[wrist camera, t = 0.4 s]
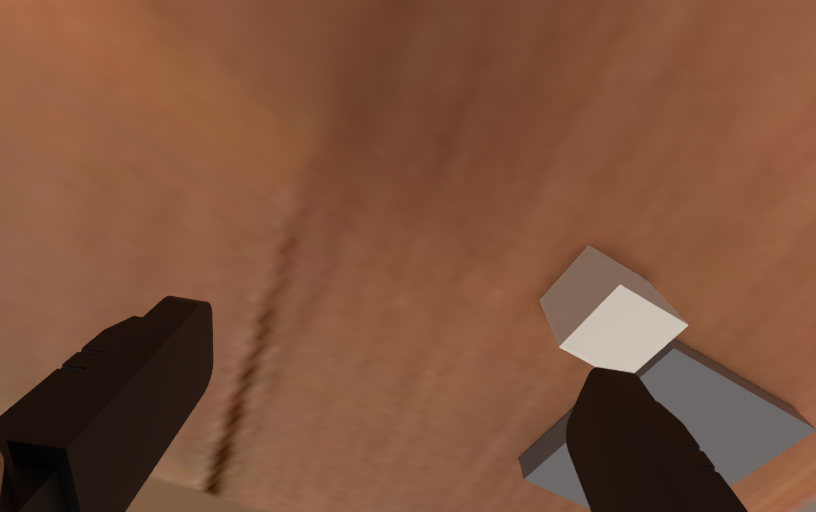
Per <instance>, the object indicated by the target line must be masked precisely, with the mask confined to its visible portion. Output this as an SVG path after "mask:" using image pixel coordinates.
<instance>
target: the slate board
mask: <svg viewBox="0 0 816 512" xmlns="http://www.w3.org/2000/svg"><path fill="white" fill-rule="evenodd" d="M634 374H636V375H637V376H638V377H639V378H640V379H641V381H642V382H643V384H644V385H645V386H646V388H647V389H648V391H649V392H650V394H651V395H652V396H653V398H654V399H655V401H657V402H660V403H661V404H662V405H663V406H664V407H665V408H666V409H667V410H669V411H670V412H671V413H672V414H673V415H674V416H675V417H677V418H678V419H679V420H680V421H681V422H682V423H683V424H684V425H685V427H686V428H687V429H688V431H689V432H690V433H691V435H692V436H693V438H694V439H695V440H696V442H697V443H698V444H699V446H700V451H704V453H705V454H706V455H707V457H708V458H709V459H710V461H711V462H712V463H713V465H714V466H715V472H719V473H720V474H721V476H722V477H723V478H724V480H725V481H726V483H727V484H728V485H729V487H730V486H731V485H733V484H734V483H736V482H737V481H739V480H740V479H742V478H743V477H745V476H746V475H748V474H750V473H751V472H753V471H754V470H756V469H757V468H759V467H760V466H762V465H763V464H765V463H766V462H768V461H770V460H771V459H773V458H774V457H776V456H777V455H779V454H780V453H782V452H783V451H785V450H786V449H788V448H789V447H791V446H793V445H794V444H796V443H797V442H799V441H800V440H802V439H803V438H805V437H806V436H808V435H809V434H811V433H813V432H814V431H816V429H815V428H814V427H813V426H812V425H811V424H810V423H809V422H808V421H807V420H806V419H805V418H804V417H803V416H802V415H801V414H800V413H799V412H798V411H797V410H796V409H795V408H793V407H792V406H790V405H788V404H787V403H785V402H783V401H781V400H780V399H778V398H776V397H774V396H773V395H771V394H769V393H768V392H766V391H764V390H762V389H761V388H759V387H757V386H755V385H754V384H752V383H750V382H749V381H747V380H745V379H743V378H742V377H740V376H738V375H736V374H735V373H733V372H731V371H730V370H728V369H726V368H724V367H723V366H721V365H719V364H717V363H716V362H714V361H712V360H711V359H709V358H707V357H705V356H704V355H702V354H700V353H698V352H697V351H695V350H693V349H691V348H690V347H688V346H686V345H685V344H683V343H681V342H679V341H678V340H676V339H672V340H671V341H670V342H669V343H668V344H667V345H666V346H665V347H663V348H662V349H661V350H660V351H659V352H658V353H657V354H655V355H654V356H653V357H652V358H651V359H650V360H649V361H648V362H646V363H645V364H644V365H643V366H642V367H641V368H640V369H639V370H637V371H636V372H635V373H634ZM572 410H573V409H572ZM572 410H571V411H570V412H568V413H567V414H566V415H565V416H564V417H563V418H562V419H561V420H560V421H559V422H558V423H556V424H555V425H554V426H553V427H552V428H551V429H550V430H549V431H548V432H547V433H546V434H544V435H543V436H542V437H541V438H540V439H539V440H538V441H537V442H536V443H535V444H534V445H532V446H531V447H530V448H529V449H528V450H527V451H526V452H525V453H524V454H523V455H522V456H520V457H519V460H520V465H521V469H522V474H523V478H524V480H526V481H528V482H531V483H533V484H535V485H537V486H540V487H542V488H544V489H546V490H548V491H551V492H553V493H555V494H557V495H560V496H562V497H564V498H566V499H569V500H571V501H573V502H575V503H578V504H580V505H582V506H584V507H587V508H589V509H590V507H589V504H588V502H587V499H586V497H585V494H584V491H583V489H582V486H581V484H580V481H579V478H578V476H577V473H576V470H575V468H574V465H573V463H572V460H571V457H570V455H569V452H568V449H567V444H566V427H567V422H568V419H569V417H570V414H571V412H572Z"/></svg>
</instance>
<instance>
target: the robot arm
mask: <svg viewBox="0 0 816 512" xmlns="http://www.w3.org/2000/svg"><path fill="white" fill-rule="evenodd" d="M212 370H213V325H212V308H211V305H210V303H208V302H205V301H199V300H193V299H187V298H180V297H174V296H167V297H165V298H164V299H162V300H161V301H160V302H159V303H158V304H157V305H156V306H155V307H154V308H152V309H151V310H150V311H149V312H148V313H147V314H146V315H145V316H144V317H137V316H133V317H131V318H128V319H126V320H124V321H122V322H120V323H118V324H115V325H113V326H111V327H109V328H107V329H105V330H103V331H102V332H101V333H100V334H99V335H97V336H96V337H95V338H94V339H92V340H91V341H90V342H89V343H88V344H86V345H85V346H84V347H83V348H82V351H81V352H77V353H76V354H74V355H73V356H72V357H71V358H70V359H68V360H67V361H66V362H65V363H64V364H62V368H61V369H56V370H55V371H54V372H53V373H51V374H50V375H49V376H48V377H47V378H45V379H44V380H43V381H42V382H41V383H39V384H38V385H37V386H36V387H35V388H33V389H32V390H31V391H30V392H29V393H27V394H26V395H25V396H24V397H23V398H21V399H20V400H19V401H18V402H16V403H15V404H14V405H13V406H12V407H10V408H9V409H8V410H7V411H6V412H4V413H3V414H2V415H1V416H0V512H125V511H126V510H127V508H128V507H129V505H130V504H131V502H132V501H133V499H134V498H135V496H136V495H137V493H138V492H139V490H140V489H141V487H142V486H143V484H144V483H145V481H146V480H147V478H148V477H149V475H150V474H151V472H152V471H153V469H154V468H155V466H156V465H157V463H158V462H159V460H160V459H161V457H162V456H163V454H164V453H165V451H166V450H167V448H168V447H169V445H170V444H171V442H172V441H173V439H174V438H175V436H176V435H177V433H178V432H179V430H180V429H181V427H182V426H183V424H184V423H185V421H186V420H187V418H188V417H189V415H190V414H191V412H192V411H193V409H194V408H195V406H196V405H197V403H198V402H199V400H200V399H201V397H202V396H203V394H204V392H205V390H206V389H207V386H208V384H209V381H210V378H211V374H212ZM566 444H567V449H568V452H569V455H570V457H571V460H572V463H573V465H574V468H575V470H576V473H577V476H578V478H579V481H580V484H581V486H582V489H583V491H584V494H585V497H586V499H587V502H588V504H589V507H590V510H591V512H748V511H747V510H746V508H745V507H744V506H743V504H742V503H741V502H740V500H739V499H738V497H737V496H736V495H735V493H734V492H733V491H732V489H731V488H730V487H729V485H728V484H727V483H726V481H725V480H724V478H723V477H722V476H721V474H720V473H719V472H715V466H714V465H713V463H712V462H711V461H710V459H709V458H708V457H707V455H706V454H705V453H704V451H700V446H699V444H698V443H697V442H696V440H695V439H694V438H693V436H692V435H691V433H690V432H689V431H688V429H687V428H686V427H685V425H684V424H683V423H682V422H681V421H680V420H679V419H678V418H677V417H675V416H674V415H673V414H672V413H671V412H670V411H669V410H667V409H666V408H665V407H664V406H663V405H662V404H661V403H660V402H657V401H655V399H654V398H653V396H652V395H651V394H650V392H649V391H648V389H647V388H646V386H645V385H644V384H643V382H642V381H641V379H640V378H639V377H638V376H637V375H636V374H634V373H632V372H625V371H619V370H613V369H607V368H601V367H595V368H593V369H592V370H591V371H590V373H589V375H588V377H587V379H586V381H585V383H584V386H583V388H582V390H581V392H580V394H579V397H578V399H577V401H576V403H575V406H574V408H573V410H572V412H571V414H570V417H569V419H568V422H567V427H566Z"/></svg>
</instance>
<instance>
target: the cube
mask: <svg viewBox="0 0 816 512" xmlns="http://www.w3.org/2000/svg"><path fill="white" fill-rule="evenodd" d="M539 302H540V304H541V307H542V309H543V311H544V314H545V316H546V318H547V321H548V323H549V325H550V328H551V330H552V332H553V335H554V337H555V339H556V342H557V344H558V346H559V348H561V349H563V350H565V351H567V352H569V353H571V354H573V355H574V356H576V357H578V358H580V359H582V360H584V361H586V362H587V363H589V364H591V365H593V366H595V367H601V368H607V369H613V370H619V371H625V372H632V373H635V372H636V371H637V370H639V369H640V368H641V367H642V366H643V365H644V364H645V363H646V362H648V361H649V360H650V359H651V358H652V357H653V356H654V355H655V354H657V353H658V352H659V351H660V350H661V349H662V348H663V347H665V346H666V345H667V344H668V343H669V342H670V341H671V340H672V339H674V338H675V337H676V336H677V335H678V334H679V333H680V332H681V331H683V330H684V329H685V328H686V327H687V326H688V324H687V323H686V322H685V321H684V319H683V318H682V317H681V316H680V315H679V314H678V313H677V312H676V311H675V310H674V309H673V308H672V306H671V305H670V304H669V303H668V302H667V301H666V300H665V299H664V298H663V297H662V296H661V295H660V293H659V292H658V291H657V290H656V289H655V288H654V287H653V286H652V285H651V284H650V283H649V281H648V280H646V279H644V278H643V277H641V276H639V275H638V274H636V273H635V272H633V271H631V270H630V269H628V268H626V267H625V266H623V265H621V264H620V263H618V262H616V261H615V260H613V259H611V258H610V257H608V256H606V255H605V254H603V253H601V252H600V251H598V250H597V249H595V248H593V247H592V246H590V245H588V246H587V247H586V248H585V249H584V250H583V252H582V253H581V254H580V255H579V256H578V257H577V258H576V259H575V261H574V262H573V263H572V264H571V265H570V266H569V267H568V269H567V270H566V271H565V272H564V273H563V274H562V275H561V276H560V278H559V279H558V280H557V281H556V282H555V283H554V284H553V286H552V287H551V288H550V289H549V290H548V291H547V292H546V293H545V295H544V296H543V297H542V298H541V299H540V300H539Z"/></svg>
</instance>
